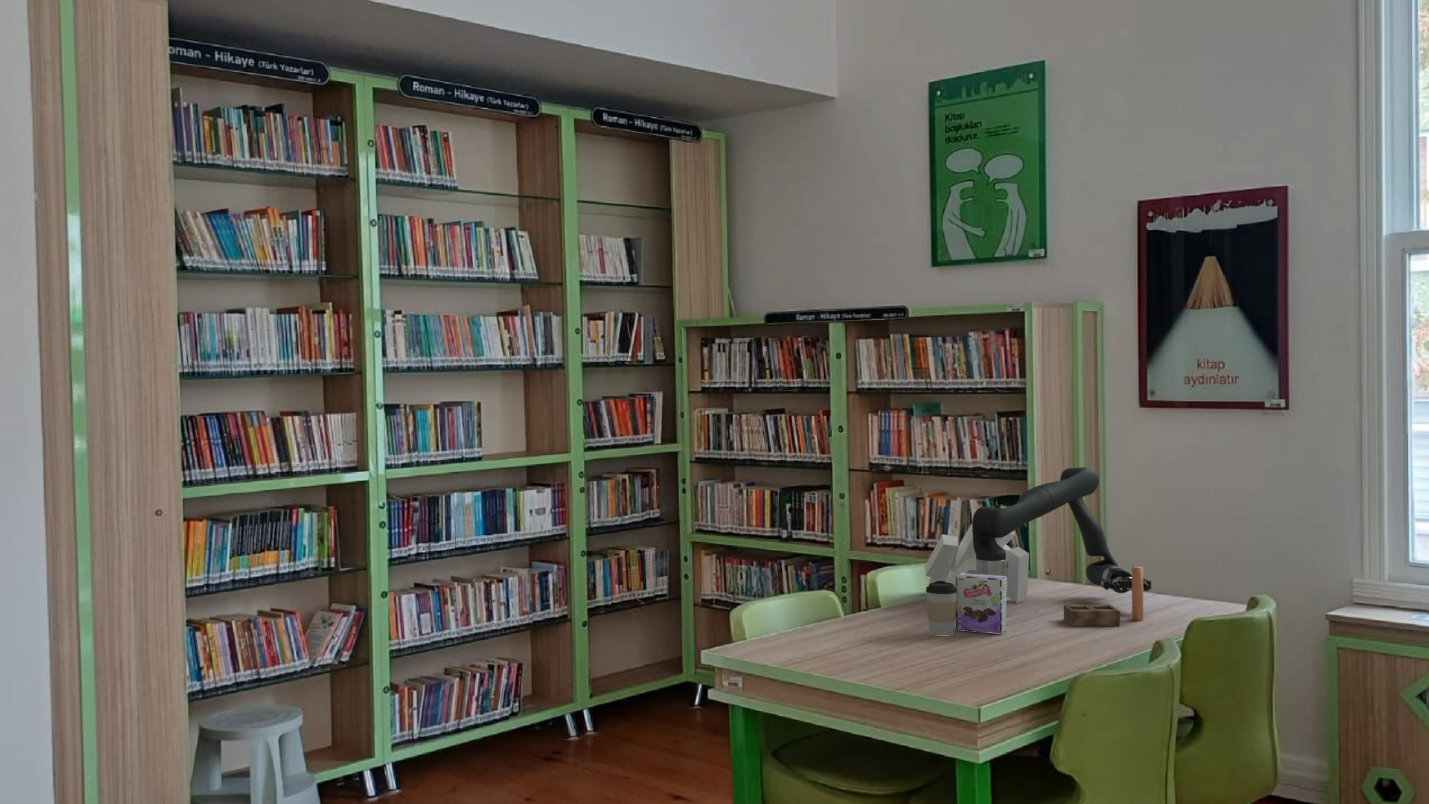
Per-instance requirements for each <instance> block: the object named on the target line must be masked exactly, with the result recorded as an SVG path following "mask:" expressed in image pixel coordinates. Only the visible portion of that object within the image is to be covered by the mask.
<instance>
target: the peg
mask: <svg viewBox="0 0 1429 804" xmlns="http://www.w3.org/2000/svg"><path fill="white" fill-rule="evenodd" d="M1131 575H1132V589H1131V618H1132V619H1131V620H1132V621H1134V620H1137V621H1136V622H1143V621H1144V590H1143V578H1144V567H1143V566H1132V567H1131Z"/></svg>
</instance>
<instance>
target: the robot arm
mask: <svg viewBox="0 0 1429 804" xmlns="http://www.w3.org/2000/svg"><path fill="white" fill-rule="evenodd" d="M1099 485H1100V477H1099V474H1098V472H1097V471H1095V470H1094V469H1093V468H1091V467H1085V466H1084V467H1083V466H1082V467H1081V466H1080V467H1068V468H1065V469H1064V470H1063V471H1062V473H1060V477H1059V480H1057V481H1052V482H1047V483H1042V484H1039V485H1036V486H1034V487H1032V488H1030V489H1027V490H1025V492H1022V493H1021V495H1020V497H1019V498H1018V500H1017V502H1016V503H1014V504H1012V505H1010V506H1009V505H1008V506H1007V507H1003V508H1001V507H1000V508H997V507H990V506H982V507H979V508H977V509H976V510H975V512H974V514H973V516H972V520H971V521H972V523H971V524H972V532H973V547H974V551H975V553H976V574H981V575H995V576H1006V577H1007V563H1006V551H1005V550H1004V549H1003V548H1002V547H1000V546H999V545H998V544H997V542H996V540H995V538H1002V537H1004V536H1006V535H1008V534H1010V533H1011V532H1015V530H1017V529H1019V528H1020V527H1022V526H1024V525H1025V524H1027V523H1030V522H1032V521H1034V520H1036V519H1038V518H1041V517H1043V516H1045V515H1047V514H1050V513H1051V512H1053V511H1055V510H1056V509H1059V508H1061V507H1062V506H1065V505H1067V504H1068V505H1069V507H1070V511H1071V513H1072V514H1073V517H1074V518H1075V521H1076V523H1077V526H1078V528H1079V532H1080V535H1081V538H1082V542H1083V545H1084V550H1085V553H1086V555H1088V556H1090V557H1102V558H1103V559H1101V560H1099V561H1095V562H1091V563H1089V564H1088V565H1087V566H1086V569H1085V575H1086V578H1087V579H1088V581H1089V582H1090V583H1092V584H1093V585H1095V586H1101V587H1102V588H1103V589H1104V590H1105V591H1108V590H1111V591H1113V592H1116V593H1118V594H1126V593H1128V592H1129V591H1132V573H1130V571H1128V570H1125V569H1124V568H1122V567H1120V566H1119V565H1118V563H1117V562H1116V560H1115V559H1114V557H1113V554H1112V553H1111V552H1110V550H1109V546H1108V545H1107V541H1106V536H1105V534H1104V530H1103V528H1102V526H1101V524H1100V522H1099V521H1098V520H1097V519H1096V517H1095V516H1094V514H1093V513H1092V512H1091V511H1090V509H1089V508H1088V506H1087V504H1086V503H1085V500H1084V497H1087V496H1090V495H1092V494H1094V493H1095V492H1096V490H1097V489H1098V487H1099ZM1150 590H1152V580H1149V579H1146V578H1145V577H1143V592H1149V591H1150ZM1007 609H1008V608H1007V606H1006V610H1007Z"/></svg>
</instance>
